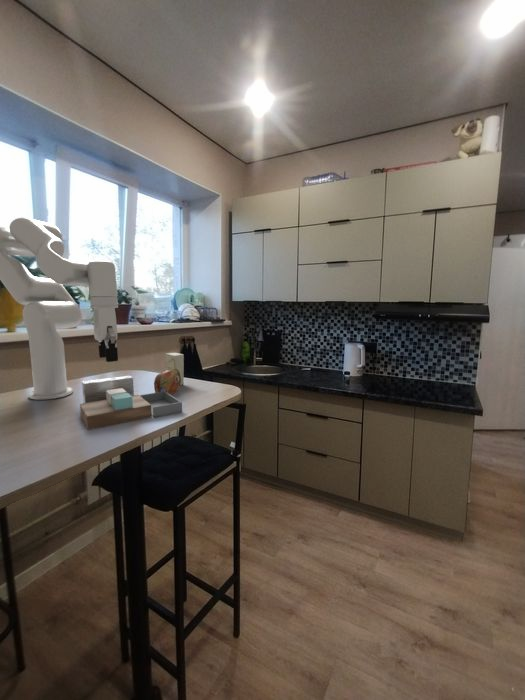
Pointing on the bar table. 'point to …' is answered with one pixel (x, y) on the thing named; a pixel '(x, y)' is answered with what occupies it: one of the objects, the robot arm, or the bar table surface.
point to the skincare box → (176, 363)
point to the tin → (168, 381)
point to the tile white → (114, 393)
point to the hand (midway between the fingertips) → (108, 359)
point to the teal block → (121, 401)
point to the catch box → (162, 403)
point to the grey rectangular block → (105, 387)
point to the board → (113, 412)
